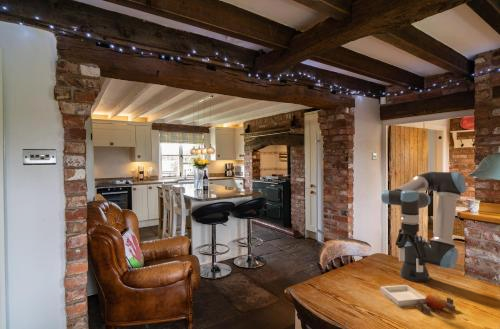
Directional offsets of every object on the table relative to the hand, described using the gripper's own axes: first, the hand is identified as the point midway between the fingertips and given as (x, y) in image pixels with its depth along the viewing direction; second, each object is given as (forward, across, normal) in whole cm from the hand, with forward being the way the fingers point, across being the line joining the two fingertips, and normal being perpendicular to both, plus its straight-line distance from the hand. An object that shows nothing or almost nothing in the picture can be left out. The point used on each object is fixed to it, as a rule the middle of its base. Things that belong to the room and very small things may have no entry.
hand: (410, 266), depth 136 cm
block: (+19, +5, +9) cm, 22 cm away
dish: (+19, -7, 0) cm, 20 cm away
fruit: (+20, +5, +9) cm, 22 cm away
